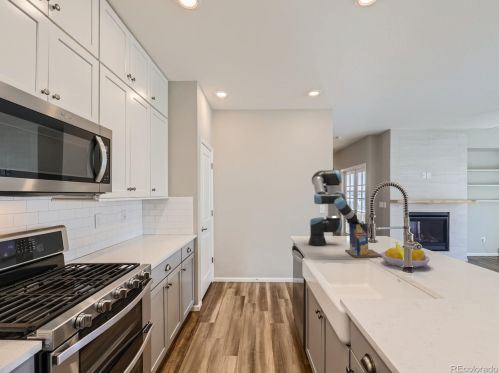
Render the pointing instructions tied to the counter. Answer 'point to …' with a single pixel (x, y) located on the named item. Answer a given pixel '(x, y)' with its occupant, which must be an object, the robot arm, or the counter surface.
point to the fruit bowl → (397, 256)
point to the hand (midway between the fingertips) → (366, 236)
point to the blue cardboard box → (358, 239)
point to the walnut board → (370, 254)
